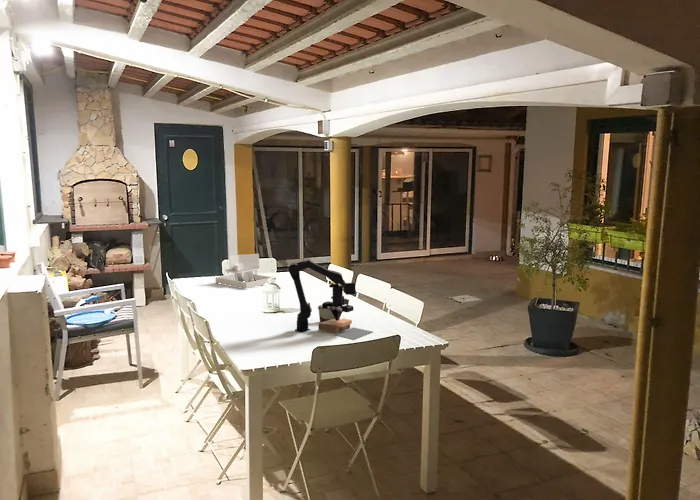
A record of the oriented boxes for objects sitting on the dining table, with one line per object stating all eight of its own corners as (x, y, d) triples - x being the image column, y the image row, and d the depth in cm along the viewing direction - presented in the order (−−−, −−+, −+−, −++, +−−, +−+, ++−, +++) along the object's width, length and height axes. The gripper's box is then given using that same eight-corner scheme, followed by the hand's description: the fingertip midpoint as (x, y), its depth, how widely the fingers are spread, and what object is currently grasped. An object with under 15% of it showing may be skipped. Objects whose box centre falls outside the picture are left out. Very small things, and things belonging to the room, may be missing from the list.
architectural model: (238, 288, 432) (237, 258, 428) (222, 284, 446) (221, 255, 442) (266, 283, 452) (266, 254, 449) (250, 279, 466) (249, 252, 463)
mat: (354, 339, 302) (354, 339, 302) (334, 335, 310) (334, 334, 310) (373, 332, 316) (373, 331, 316) (353, 327, 324) (353, 327, 324)
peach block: (342, 327, 312) (342, 323, 312) (333, 325, 316) (333, 321, 315) (351, 323, 319) (351, 320, 319) (343, 321, 323) (343, 318, 322)
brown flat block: (335, 334, 312) (335, 327, 312) (318, 330, 320) (318, 323, 319) (350, 328, 323) (350, 321, 323) (333, 324, 331) (333, 318, 330)
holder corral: (246, 289, 427) (246, 283, 426) (215, 283, 448) (215, 277, 447) (273, 283, 449) (273, 277, 449) (242, 278, 471) (242, 272, 470)
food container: (340, 321, 339) (340, 305, 338) (336, 323, 333) (336, 307, 332) (321, 319, 343) (321, 303, 341) (317, 321, 337) (317, 305, 335)
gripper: (359, 294, 318) (359, 320, 320) (333, 290, 329) (333, 315, 331) (347, 297, 309) (347, 325, 312) (321, 293, 320) (321, 319, 323)
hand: (337, 321), depth 319 cm, fingers closed
